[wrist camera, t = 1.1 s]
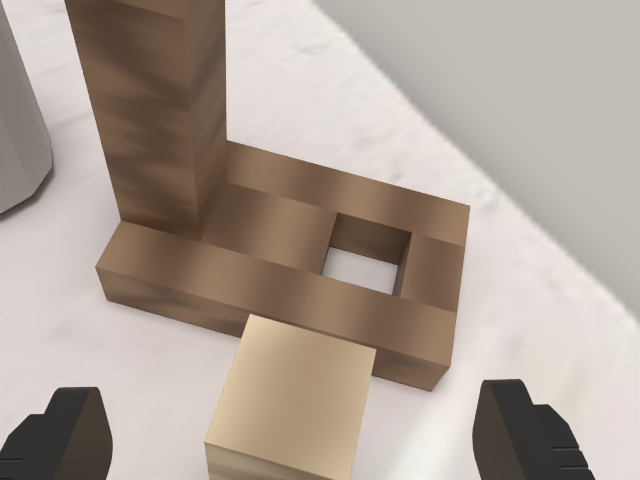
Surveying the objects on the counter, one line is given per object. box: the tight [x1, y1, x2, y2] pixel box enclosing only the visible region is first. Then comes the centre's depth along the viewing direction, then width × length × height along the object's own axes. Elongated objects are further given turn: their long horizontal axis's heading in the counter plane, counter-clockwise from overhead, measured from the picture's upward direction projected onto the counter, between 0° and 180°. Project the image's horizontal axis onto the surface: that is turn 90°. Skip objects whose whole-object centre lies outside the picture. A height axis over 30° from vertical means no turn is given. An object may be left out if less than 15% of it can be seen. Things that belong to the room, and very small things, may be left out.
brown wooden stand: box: [64, 0, 470, 392], centre depth 32 cm, size 22×12×22 cm, turn 76°
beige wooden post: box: [204, 314, 376, 480], centre depth 24 cm, size 4×4×18 cm
